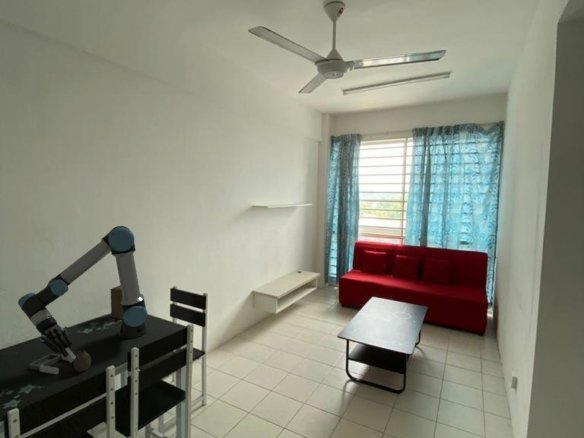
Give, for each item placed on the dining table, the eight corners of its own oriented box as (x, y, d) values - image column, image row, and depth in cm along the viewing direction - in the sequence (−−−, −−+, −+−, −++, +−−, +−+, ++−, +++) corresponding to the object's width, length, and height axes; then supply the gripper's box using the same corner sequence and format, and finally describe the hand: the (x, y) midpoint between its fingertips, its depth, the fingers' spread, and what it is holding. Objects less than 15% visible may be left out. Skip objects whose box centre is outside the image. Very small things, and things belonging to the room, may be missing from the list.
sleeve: (39, 371, 146) (39, 366, 146) (63, 358, 158) (63, 354, 157) (57, 374, 144) (57, 369, 144) (79, 361, 155) (79, 356, 155)
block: (123, 319, 208) (123, 289, 207) (110, 318, 210) (109, 288, 209) (134, 314, 218) (133, 285, 216) (121, 312, 220) (120, 284, 218)
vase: (88, 364, 153) (87, 346, 153) (93, 369, 149) (93, 350, 148) (71, 370, 148) (70, 351, 147) (76, 375, 144) (76, 356, 143)
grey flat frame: (28, 368, 148) (28, 364, 148) (51, 357, 159) (50, 353, 159) (40, 370, 147) (40, 366, 147) (62, 359, 157) (62, 355, 157)
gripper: (53, 321, 158) (81, 358, 156) (25, 332, 146) (55, 372, 143) (61, 312, 157) (89, 349, 154) (34, 322, 144) (65, 362, 141)
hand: (73, 360), depth 149 cm, fingers closed
